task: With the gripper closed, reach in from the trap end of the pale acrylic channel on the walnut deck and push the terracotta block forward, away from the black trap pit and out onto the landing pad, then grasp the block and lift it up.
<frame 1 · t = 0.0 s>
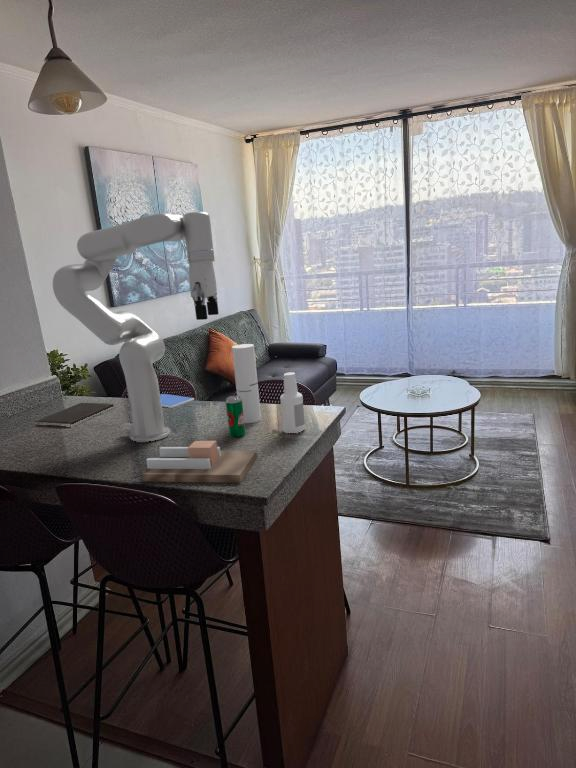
hand: (207, 317, 161), 37 cm above the worktop, tool pointing down, fingers open, 9 cm apart
white bottle: (294, 431, 169), on the worktop
hardcover book: (77, 418, 205), on the worktop
soda can: (237, 435, 169), on the worktop
cylindrical container: (250, 420, 183), on the worktop
channel: (184, 457, 145), on the deck, point 3 cm above the worktop
tablet computer: (167, 403, 216), on the worktop
block: (204, 462, 144), point 2 cm above the worktop, touching deck
deck: (201, 469, 145), on the worktop
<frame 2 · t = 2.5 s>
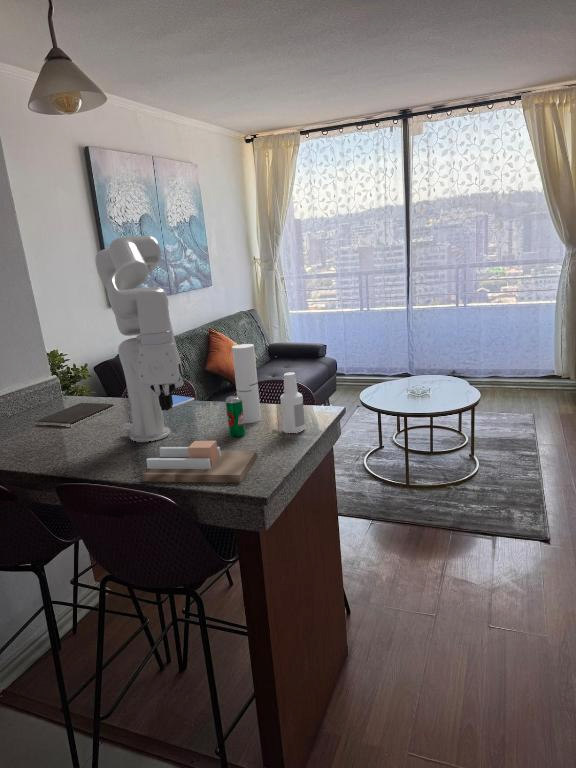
hand: (166, 408, 142), 17 cm above the worktop, tool pointing down, fingers closed
nothing on the worktop moved.
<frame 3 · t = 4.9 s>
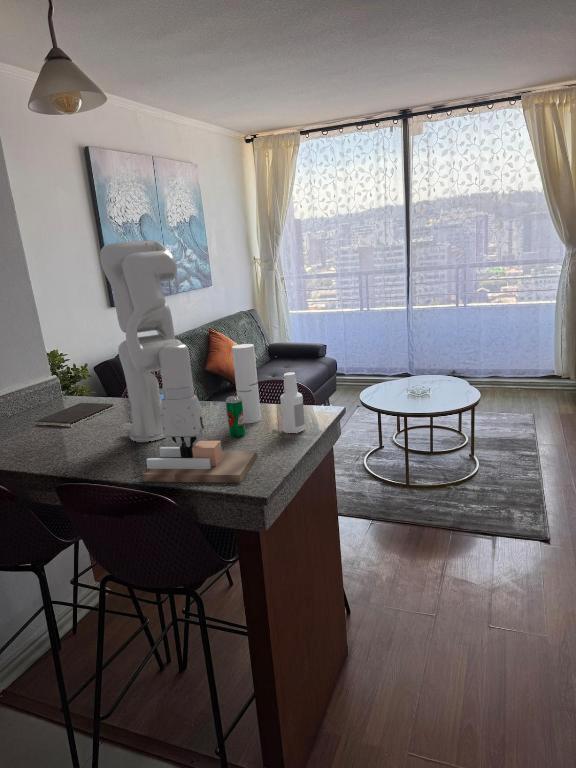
hand: (187, 459, 145), 3 cm above the worktop, tool pointing down, fingers closed
block: (208, 462, 144), point 2 cm above the worktop, touching deck, gripper
everything else where it was.
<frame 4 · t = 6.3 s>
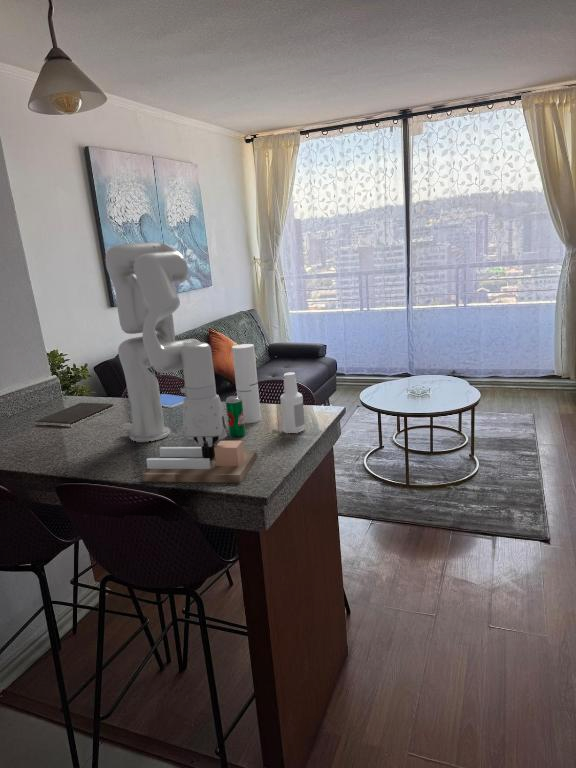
hand: (209, 459, 144), 3 cm above the worktop, tool pointing down, fingers closed
block: (230, 462, 143), point 2 cm above the worktop, touching deck, gripper
everything else where it was.
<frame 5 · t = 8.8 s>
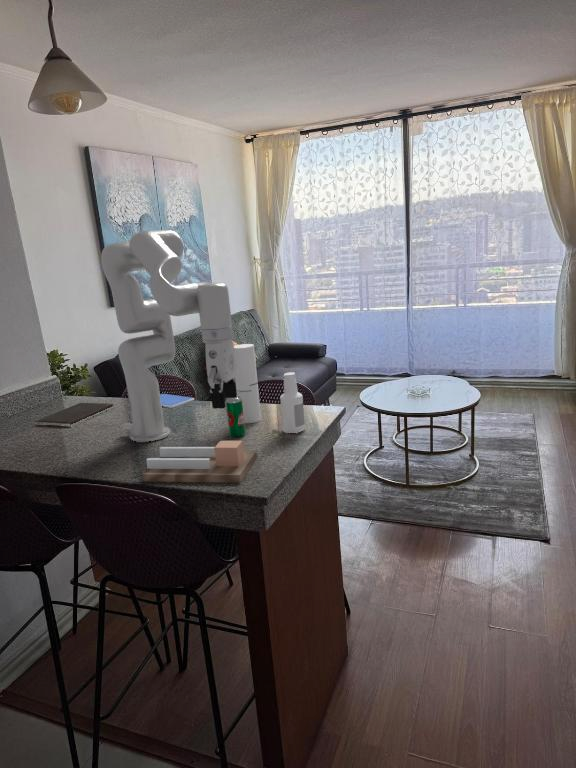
hand: (225, 402, 139), 18 cm above the worktop, tool pointing down, fingers open, 8 cm apart
block: (230, 462, 143), point 2 cm above the worktop, touching deck
everything else where it was.
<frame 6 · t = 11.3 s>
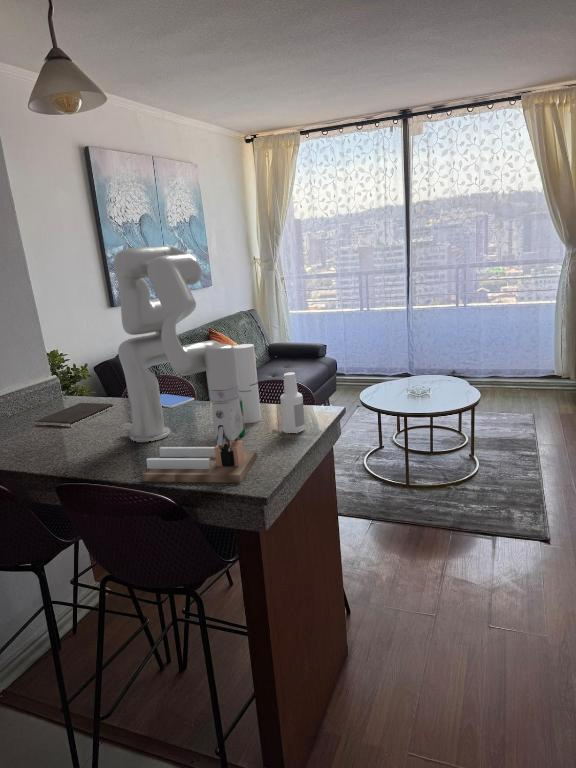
hand: (231, 460, 143), 2 cm above the worktop, tool pointing down, fingers closed on block, 5 cm apart
block: (230, 462, 143), point 2 cm above the worktop, touching deck, gripper
everything else where it was.
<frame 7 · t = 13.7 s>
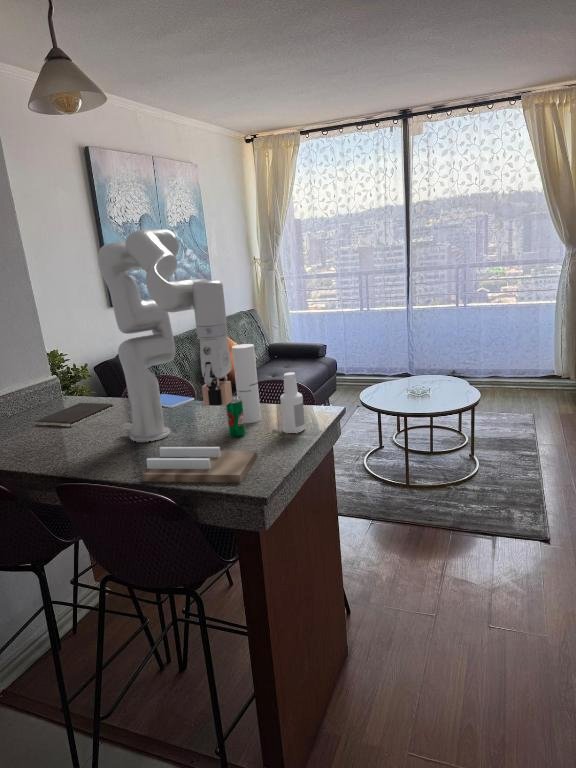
hand: (219, 400, 141), 18 cm above the worktop, tool pointing down, fingers closed on block, 5 cm apart
block: (218, 402, 141), point 18 cm above the worktop, touching gripper
everything else where it was.
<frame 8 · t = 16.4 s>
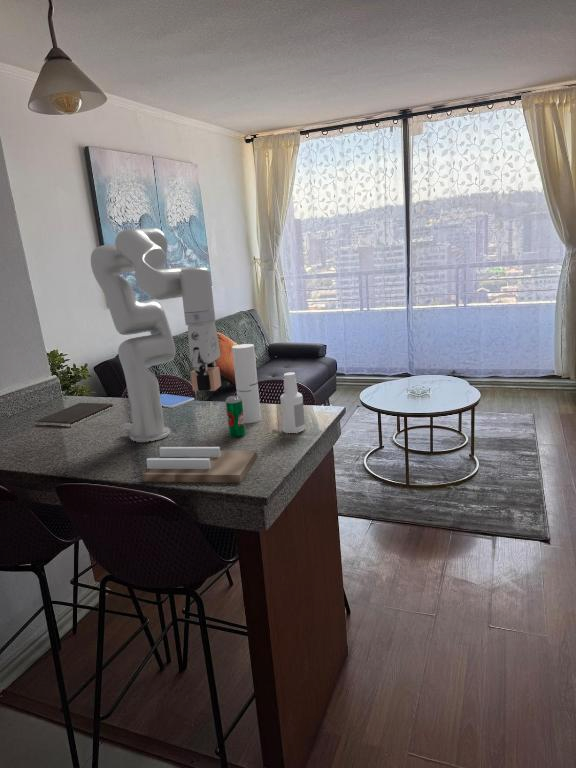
hand: (208, 386, 143), 21 cm above the worktop, tool pointing down, fingers closed on block, 5 cm apart
block: (207, 388, 143), point 21 cm above the worktop, touching gripper
everything else where it was.
at the end: the gripper is holding block; block point 20.9 cm above the worktop; block touching gripper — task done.
